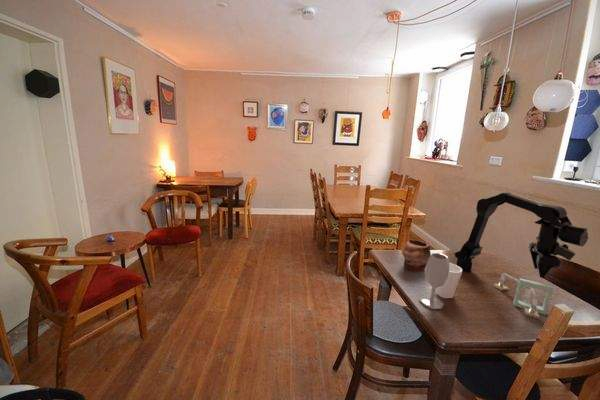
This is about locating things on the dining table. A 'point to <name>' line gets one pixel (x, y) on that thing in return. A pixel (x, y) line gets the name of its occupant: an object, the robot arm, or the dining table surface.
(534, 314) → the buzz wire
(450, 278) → the foam cup
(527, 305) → the mint green frame
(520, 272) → the dining table surface
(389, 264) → the dining table surface
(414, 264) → the decorative planter
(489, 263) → the dining table surface
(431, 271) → the wineglass
